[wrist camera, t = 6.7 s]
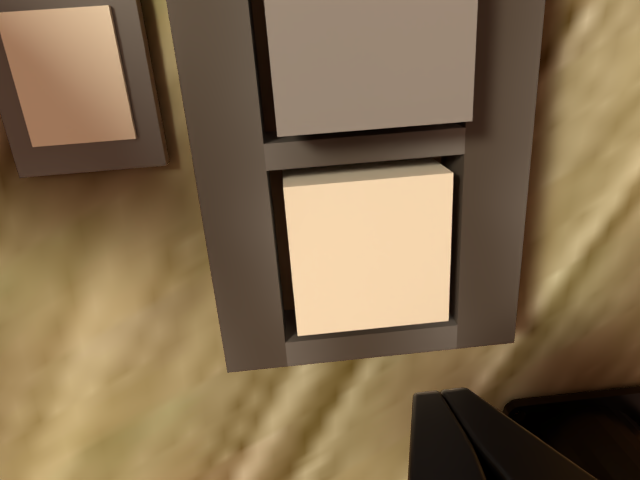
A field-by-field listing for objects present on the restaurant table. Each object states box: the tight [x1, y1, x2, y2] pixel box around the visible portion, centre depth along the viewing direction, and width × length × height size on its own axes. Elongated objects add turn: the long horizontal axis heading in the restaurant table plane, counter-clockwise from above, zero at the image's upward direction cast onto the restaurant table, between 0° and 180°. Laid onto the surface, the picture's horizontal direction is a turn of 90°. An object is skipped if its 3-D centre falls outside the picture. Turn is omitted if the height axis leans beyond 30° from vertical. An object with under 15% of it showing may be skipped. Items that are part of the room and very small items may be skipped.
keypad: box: [166, 0, 545, 373], centre depth 13 cm, size 9×19×3 cm, turn 4°
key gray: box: [264, 0, 478, 137], centre depth 11 cm, size 4×4×2 cm
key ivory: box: [283, 157, 453, 336], centre depth 15 cm, size 4×4×2 cm
